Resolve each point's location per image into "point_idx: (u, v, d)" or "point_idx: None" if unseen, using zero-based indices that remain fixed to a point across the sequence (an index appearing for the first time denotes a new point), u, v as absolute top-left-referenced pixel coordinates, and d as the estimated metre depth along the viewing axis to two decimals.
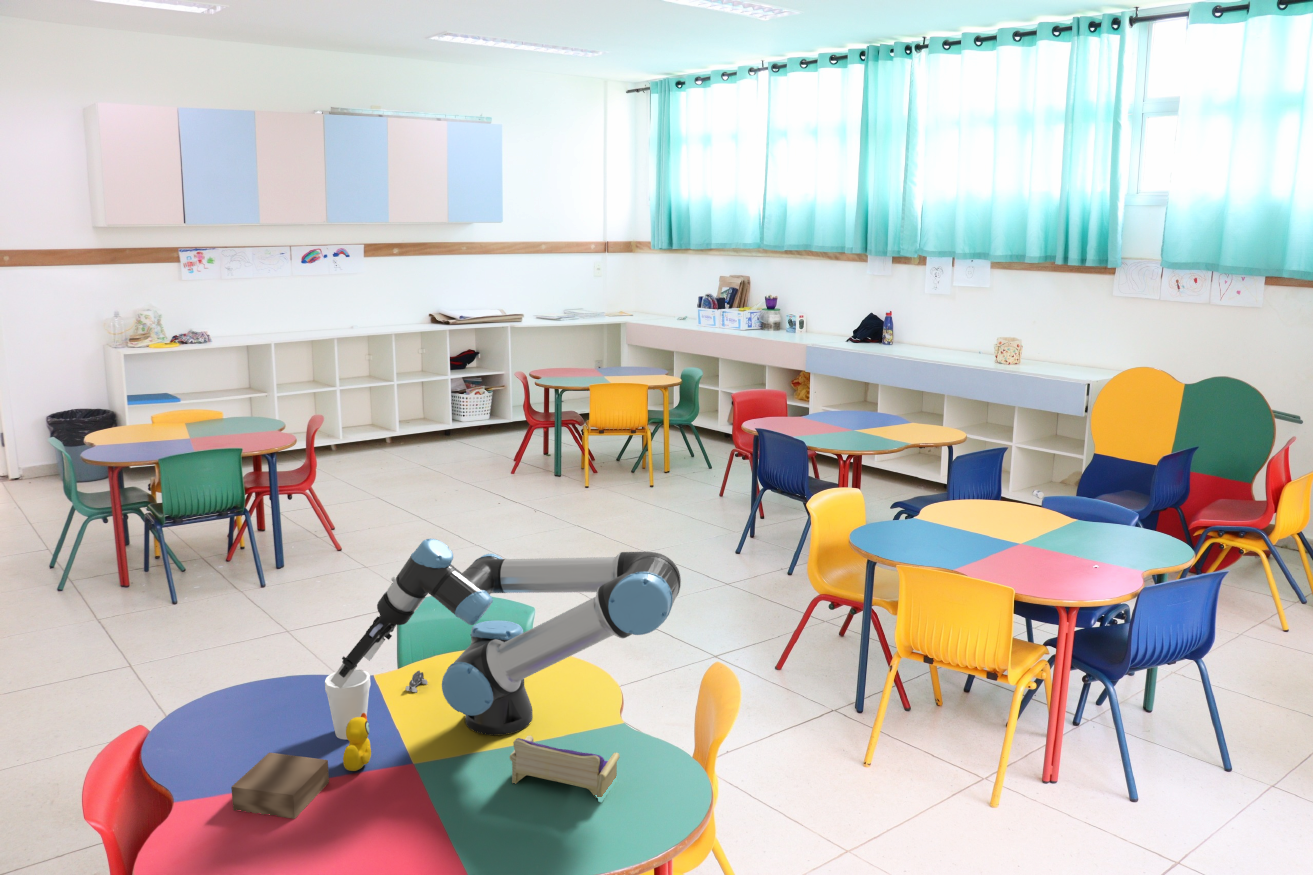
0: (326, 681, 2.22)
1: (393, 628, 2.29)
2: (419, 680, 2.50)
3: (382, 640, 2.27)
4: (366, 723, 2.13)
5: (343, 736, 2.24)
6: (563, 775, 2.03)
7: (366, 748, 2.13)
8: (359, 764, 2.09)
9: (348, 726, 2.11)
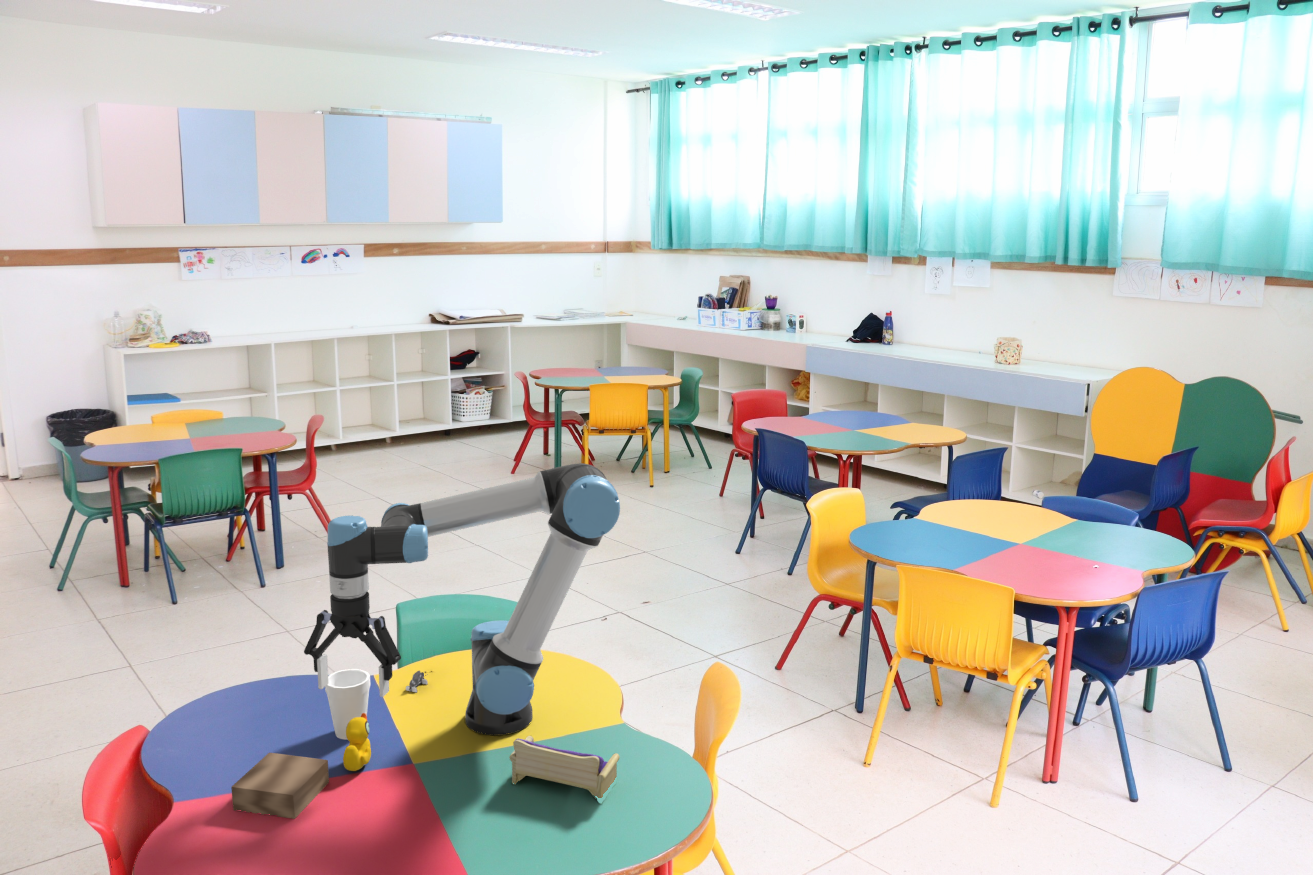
0: None
1: (315, 642, 2.11)
2: (419, 680, 2.50)
3: (326, 656, 2.11)
4: (366, 723, 2.13)
5: (343, 736, 2.24)
6: (563, 775, 2.03)
7: (366, 748, 2.13)
8: (359, 764, 2.09)
9: (348, 726, 2.11)
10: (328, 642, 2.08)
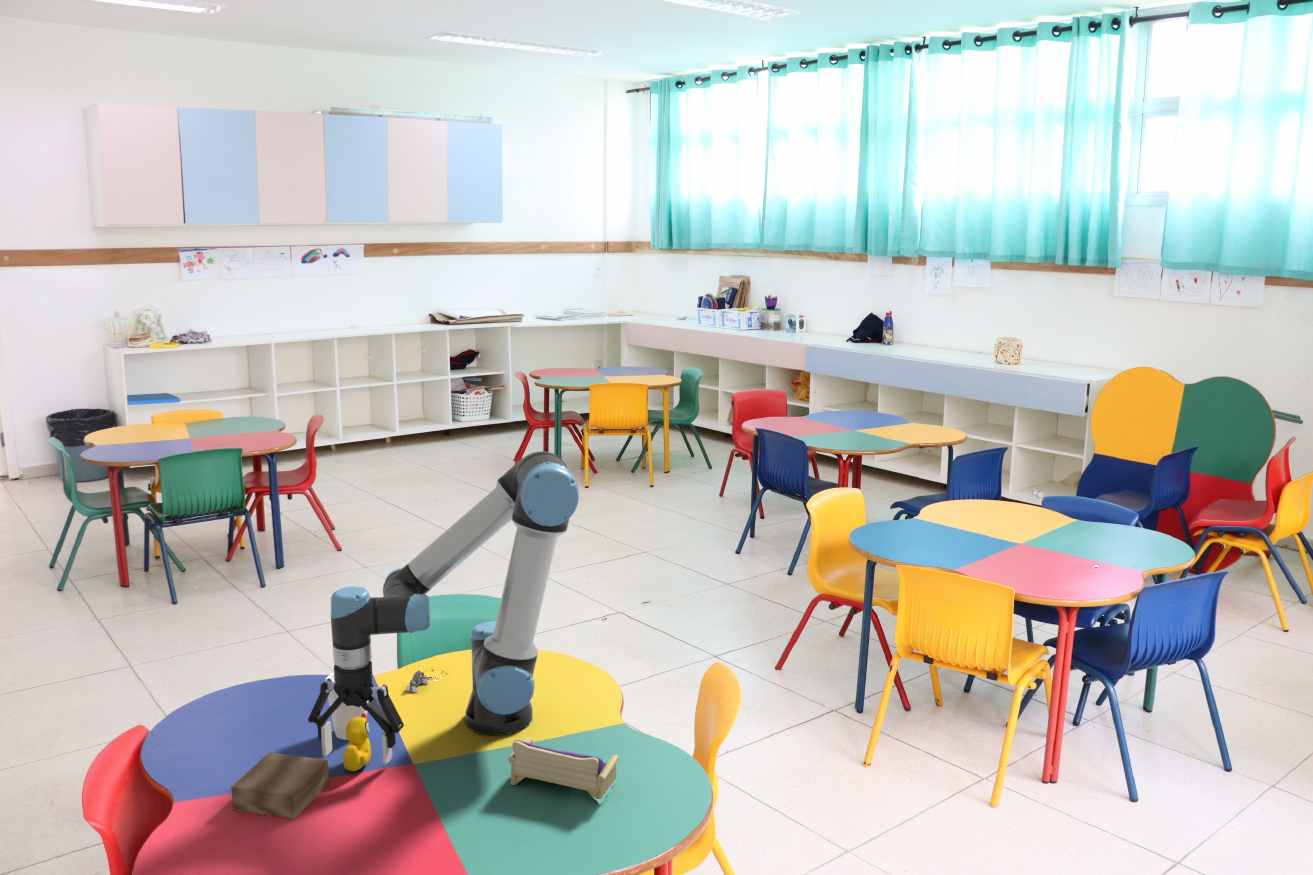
0: None
1: (319, 710, 2.14)
2: (420, 680, 2.50)
3: (330, 723, 2.14)
4: (366, 723, 2.13)
5: (343, 736, 2.24)
6: (562, 777, 2.02)
7: (366, 748, 2.13)
8: (359, 764, 2.09)
9: (348, 726, 2.11)
10: (332, 710, 2.11)
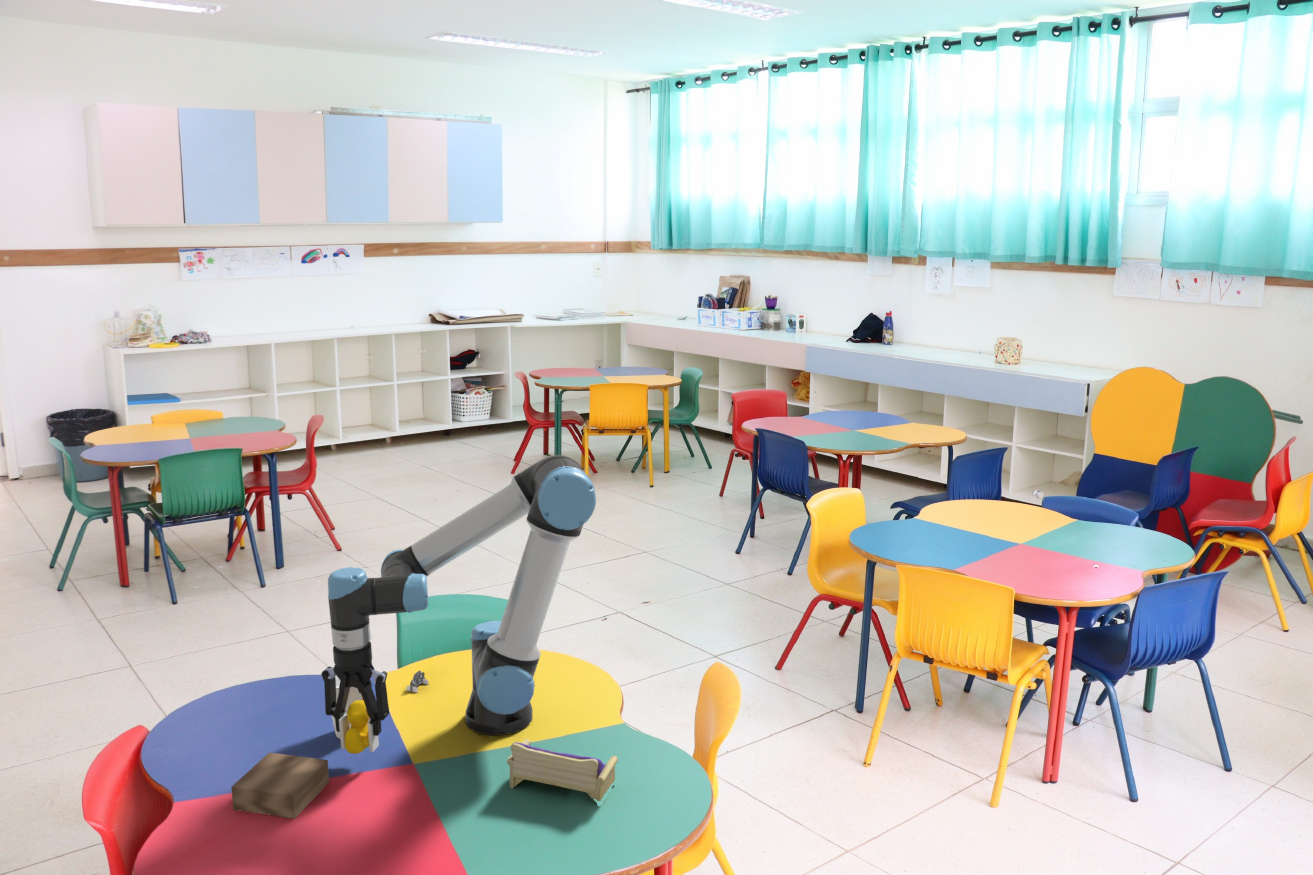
0: None
1: None
2: (420, 680, 2.50)
3: None
4: None
5: None
6: (561, 779, 2.02)
7: None
8: (361, 746, 2.08)
9: (349, 709, 2.11)
10: (342, 697, 2.10)
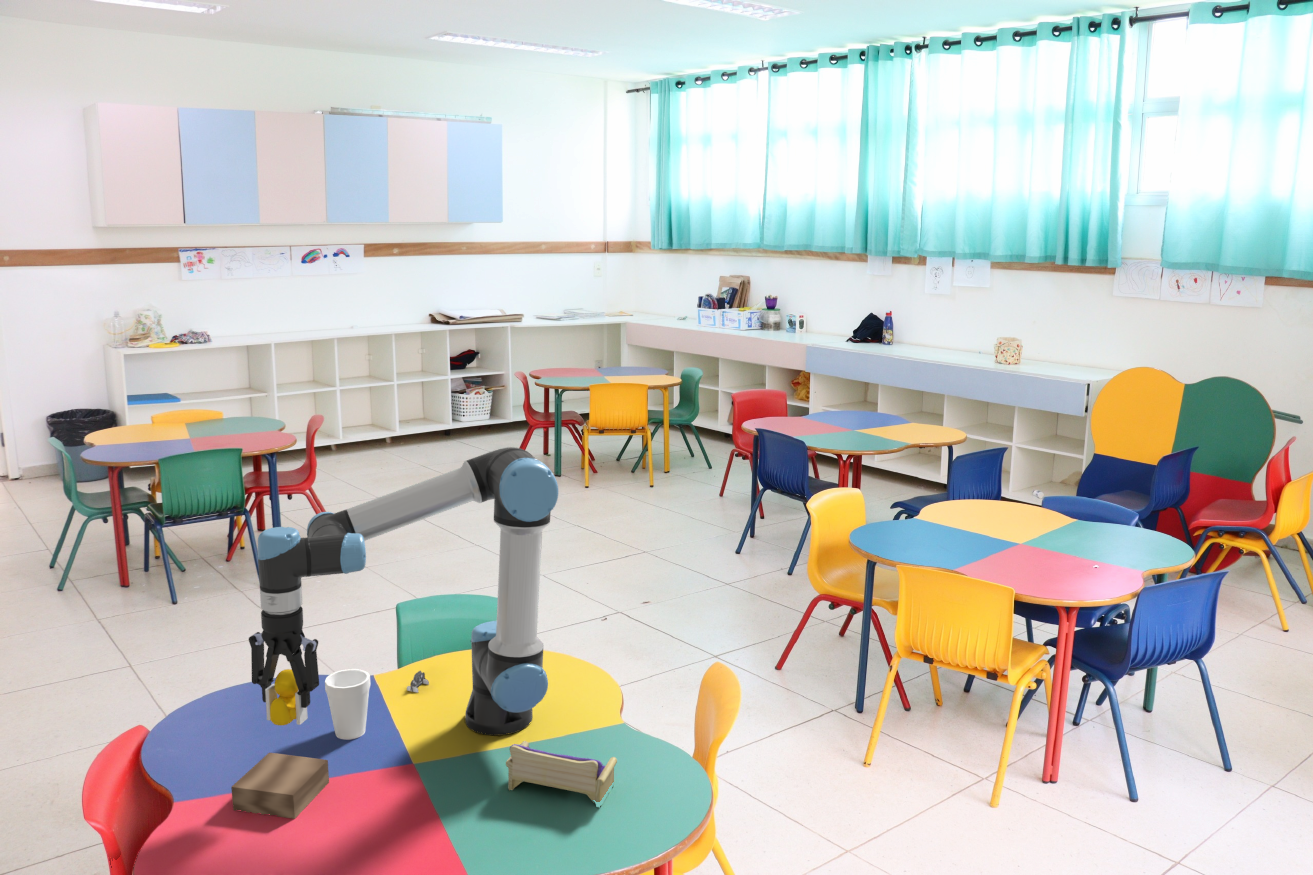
0: (326, 681, 2.22)
1: None
2: (421, 680, 2.50)
3: None
4: None
5: (343, 736, 2.24)
6: (560, 780, 2.01)
7: None
8: (287, 718, 1.96)
9: (277, 678, 1.98)
10: (269, 665, 1.97)
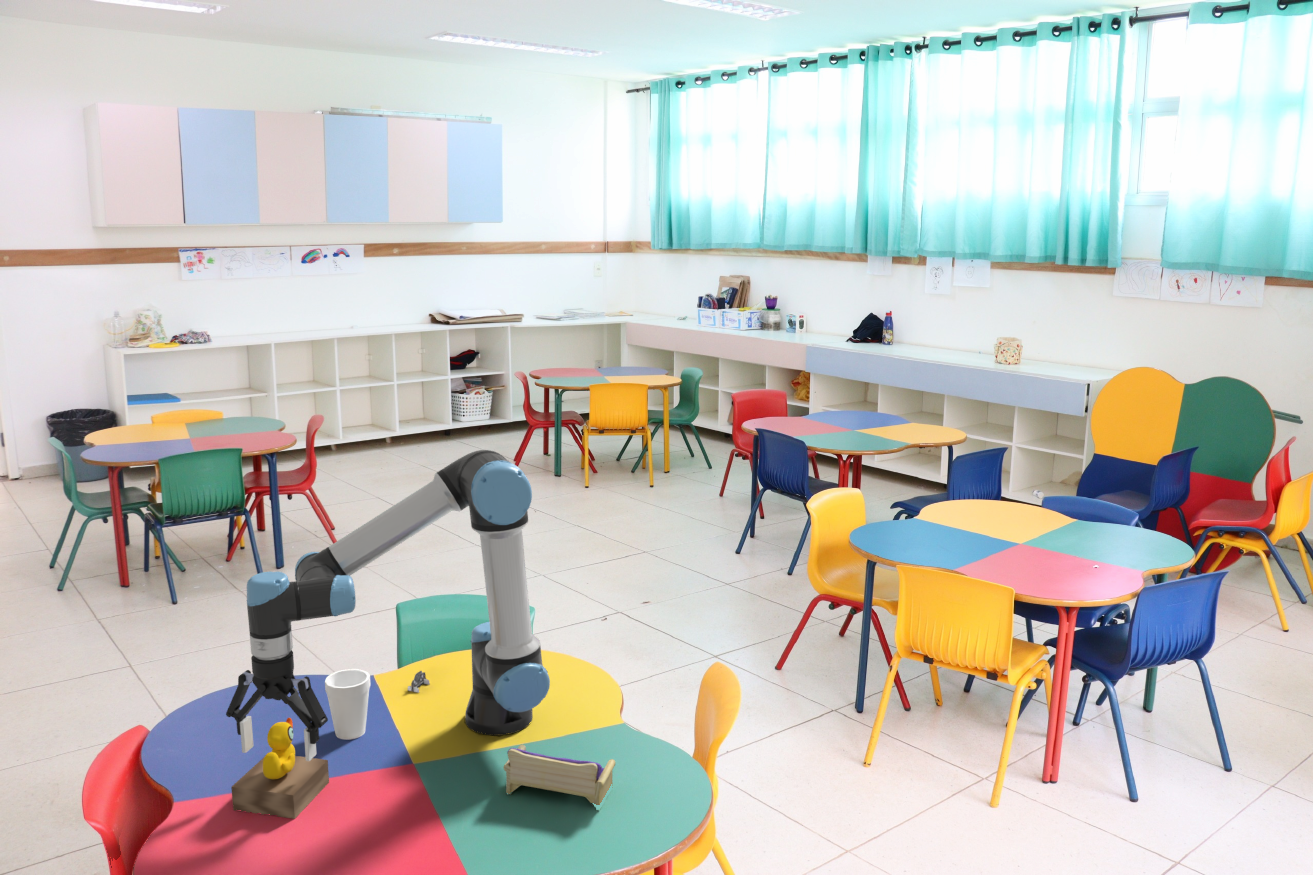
0: (326, 681, 2.22)
1: None
2: (421, 680, 2.50)
3: (250, 718, 2.01)
4: (289, 728, 2.00)
5: (343, 736, 2.24)
6: (559, 784, 2.00)
7: (289, 755, 2.00)
8: (279, 772, 1.96)
9: (269, 731, 1.99)
10: (251, 704, 1.98)
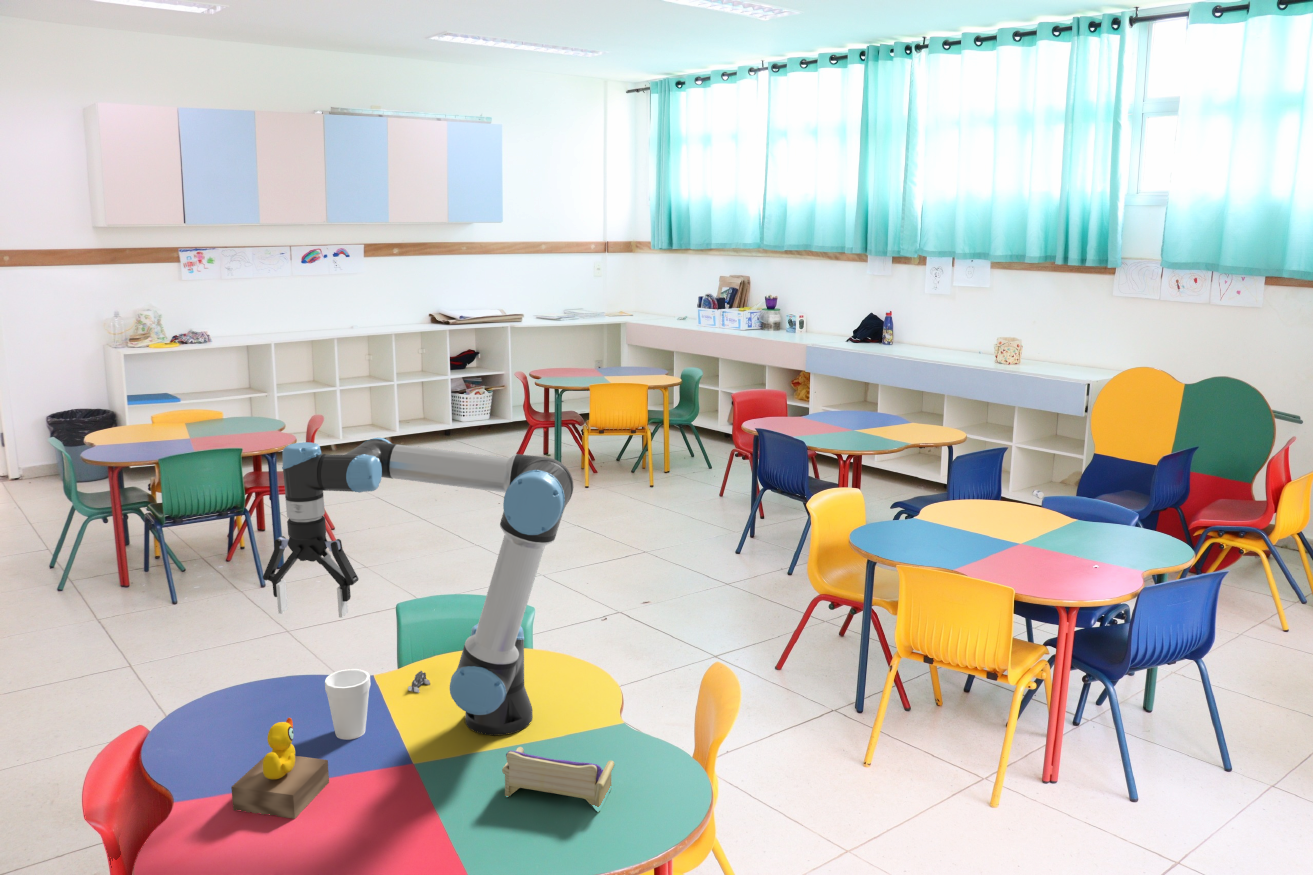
0: (326, 681, 2.22)
1: (274, 569, 2.17)
2: (422, 680, 2.50)
3: (285, 581, 2.18)
4: (289, 729, 2.00)
5: (343, 736, 2.24)
6: (559, 786, 1.99)
7: (289, 755, 2.00)
8: (279, 772, 1.96)
9: (269, 732, 1.99)
10: (286, 567, 2.14)
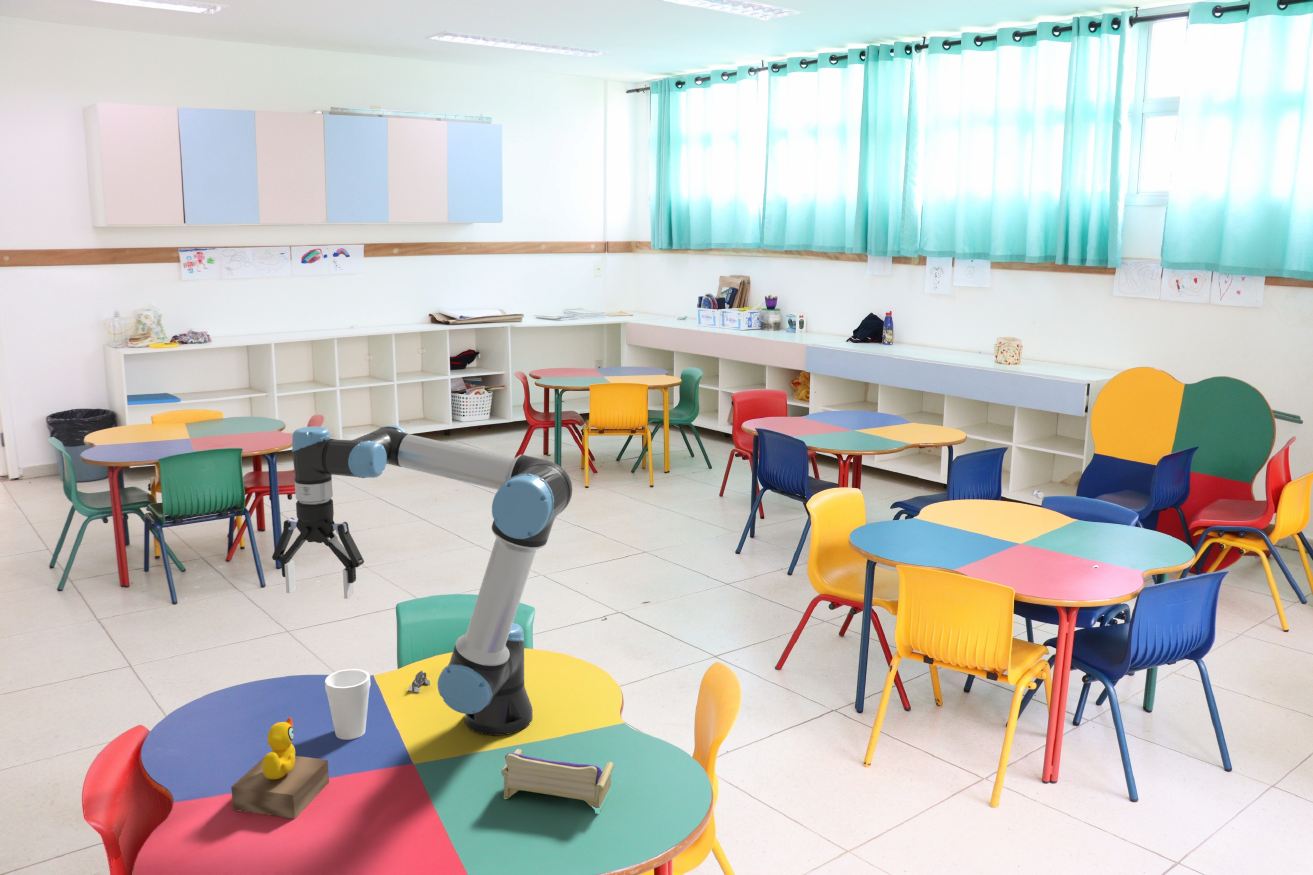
0: (326, 681, 2.22)
1: None
2: (422, 680, 2.50)
3: (293, 562, 2.23)
4: (289, 729, 2.00)
5: (343, 736, 2.24)
6: (558, 788, 1.99)
7: (289, 755, 2.00)
8: (279, 772, 1.96)
9: (269, 732, 1.99)
10: (295, 547, 2.19)
